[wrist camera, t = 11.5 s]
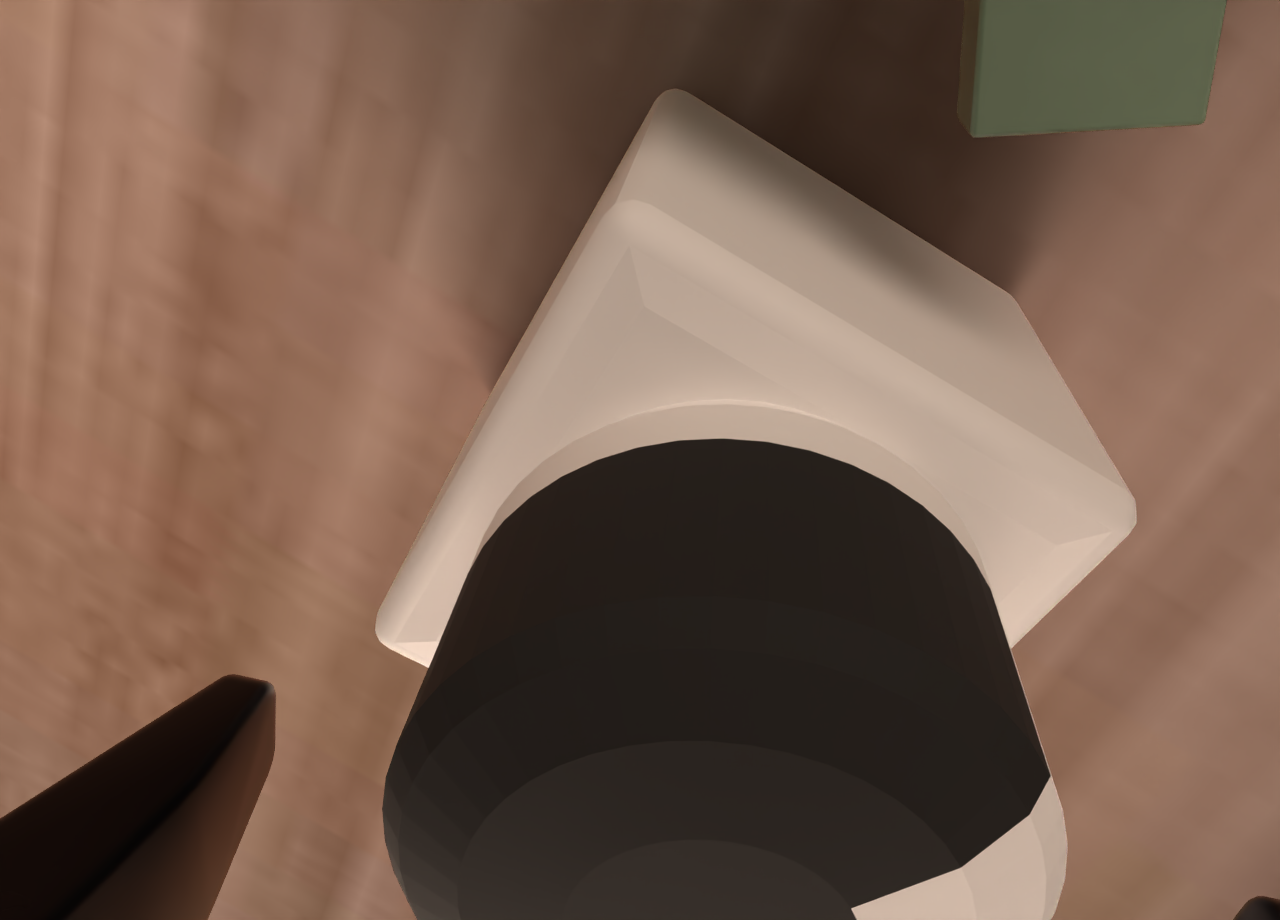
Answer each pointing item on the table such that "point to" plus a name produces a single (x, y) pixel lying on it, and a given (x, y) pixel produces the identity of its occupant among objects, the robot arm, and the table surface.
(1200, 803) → the table surface
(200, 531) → the table surface
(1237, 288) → the table surface
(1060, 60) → the cooking pot
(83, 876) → the robot arm
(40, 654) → the table surface
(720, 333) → the medicine bottle
